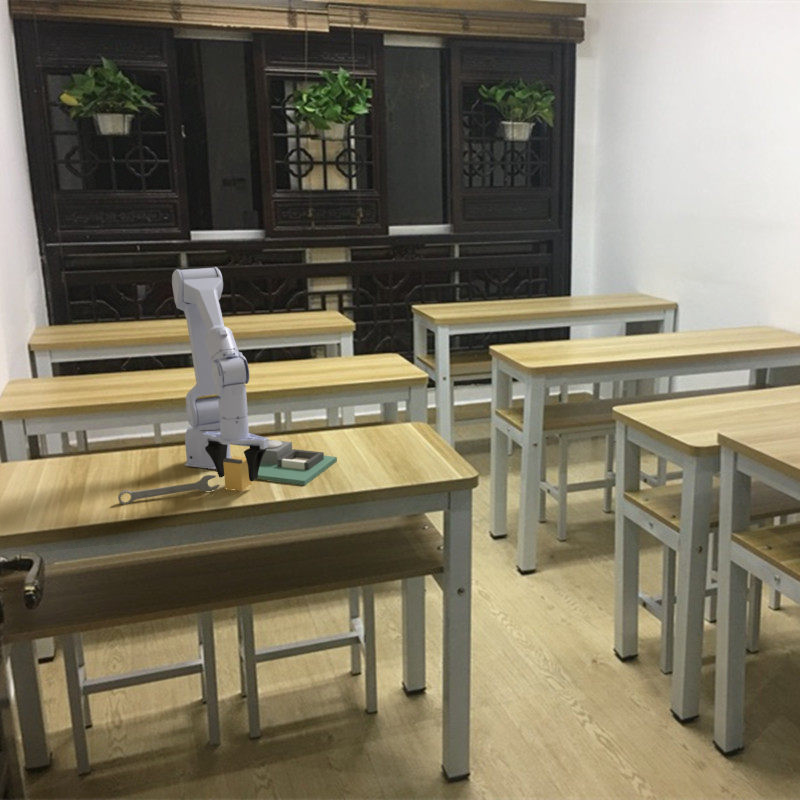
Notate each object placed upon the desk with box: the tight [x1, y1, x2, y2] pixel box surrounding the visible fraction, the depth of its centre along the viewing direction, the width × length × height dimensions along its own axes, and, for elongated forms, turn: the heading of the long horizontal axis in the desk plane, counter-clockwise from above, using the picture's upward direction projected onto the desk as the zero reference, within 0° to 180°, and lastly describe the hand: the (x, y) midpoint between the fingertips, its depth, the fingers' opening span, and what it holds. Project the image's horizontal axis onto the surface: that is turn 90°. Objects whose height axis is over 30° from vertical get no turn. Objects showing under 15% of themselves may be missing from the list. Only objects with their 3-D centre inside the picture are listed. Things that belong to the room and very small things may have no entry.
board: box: [256, 439, 338, 486], centre depth 177 cm, size 18×16×4 cm
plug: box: [223, 455, 253, 492], centre depth 166 cm, size 4×4×7 cm
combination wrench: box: [117, 474, 221, 505], centre depth 161 cm, size 4×1×20 cm
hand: (238, 477), depth 166 cm, fingers open, 7 cm apart
